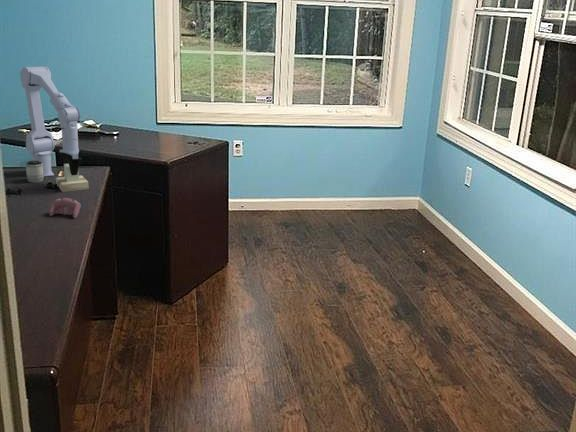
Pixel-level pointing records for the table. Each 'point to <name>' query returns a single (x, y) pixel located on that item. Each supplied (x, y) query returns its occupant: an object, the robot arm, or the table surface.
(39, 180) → the camera lens
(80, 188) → the birch block
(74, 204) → the video game controller
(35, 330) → the table surface
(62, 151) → the robot arm
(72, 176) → the sage block
